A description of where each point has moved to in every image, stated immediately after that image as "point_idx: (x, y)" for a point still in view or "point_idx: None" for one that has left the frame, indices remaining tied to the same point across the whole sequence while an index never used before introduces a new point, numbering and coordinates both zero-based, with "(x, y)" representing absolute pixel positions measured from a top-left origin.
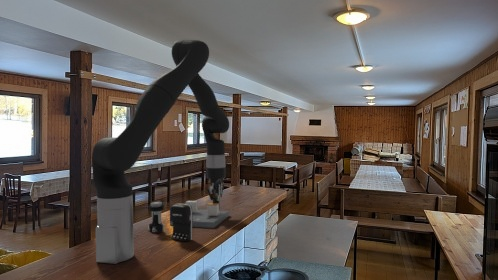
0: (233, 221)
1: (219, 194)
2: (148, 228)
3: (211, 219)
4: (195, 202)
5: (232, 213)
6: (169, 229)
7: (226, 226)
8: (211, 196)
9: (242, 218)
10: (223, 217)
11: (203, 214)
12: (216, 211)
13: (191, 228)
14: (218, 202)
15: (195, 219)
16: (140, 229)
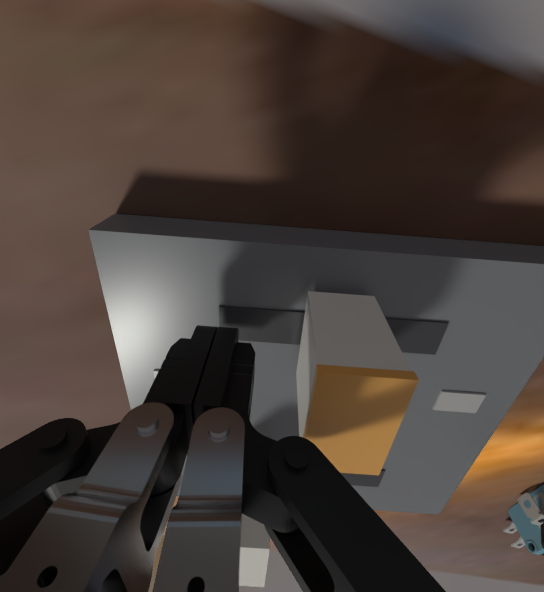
0: (322, 104)
1: (184, 509)
2: (509, 531)
3: (468, 312)
4: (261, 544)
5: (8, 199)
6: (511, 466)
7: (525, 136)
8: (317, 554)
9: (166, 6)
10: (286, 235)
11: (289, 402)
12: (385, 324)
13: None
14: (215, 389)
15: (448, 414)
16: (482, 541)
